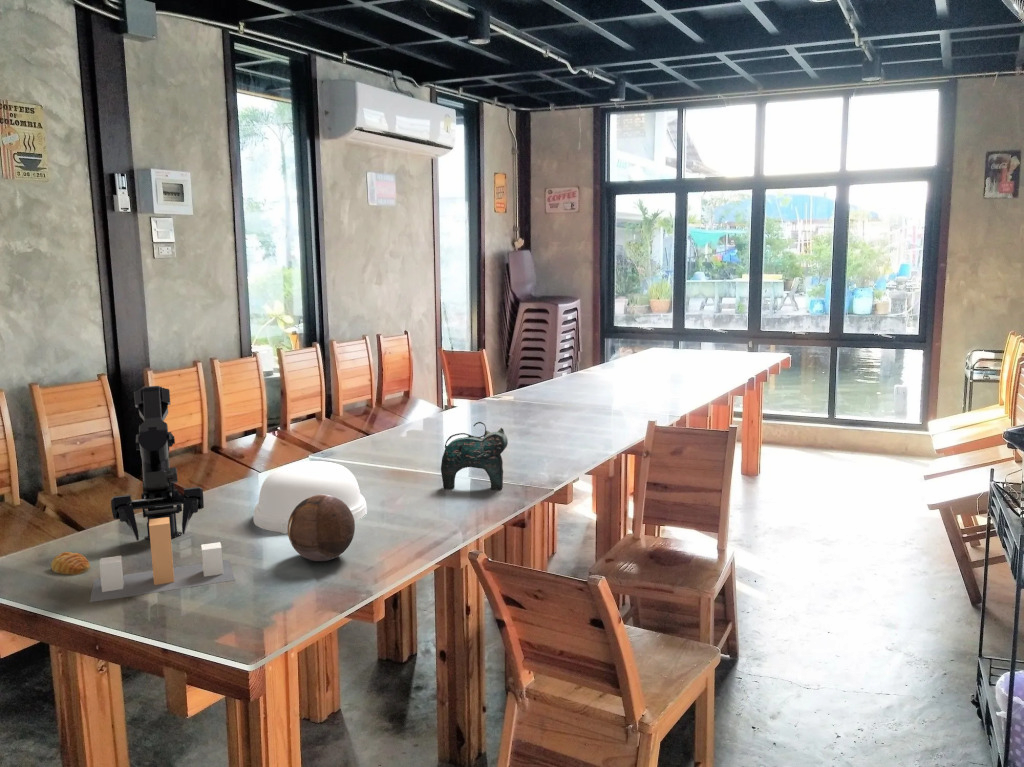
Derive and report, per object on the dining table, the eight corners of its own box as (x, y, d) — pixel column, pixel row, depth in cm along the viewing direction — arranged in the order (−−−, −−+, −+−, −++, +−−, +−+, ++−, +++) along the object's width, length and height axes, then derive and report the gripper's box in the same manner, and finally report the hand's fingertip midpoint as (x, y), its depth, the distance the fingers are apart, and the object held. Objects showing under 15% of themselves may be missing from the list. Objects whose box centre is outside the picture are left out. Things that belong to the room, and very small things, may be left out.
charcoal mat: (94, 581, 186) (94, 579, 186) (229, 561, 196) (229, 559, 196) (90, 604, 173) (89, 602, 173) (234, 582, 183) (234, 580, 183)
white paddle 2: (203, 570, 189) (201, 544, 188) (222, 567, 191) (220, 542, 190) (204, 576, 186) (202, 550, 185) (223, 573, 187) (221, 547, 186)
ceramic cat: (508, 485, 257) (507, 420, 254) (506, 491, 251) (505, 424, 248) (443, 485, 259) (441, 420, 256) (439, 490, 253) (437, 424, 250)
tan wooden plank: (154, 577, 186) (149, 519, 184) (173, 574, 188) (169, 517, 186) (154, 585, 181) (149, 525, 180) (174, 582, 183) (169, 523, 181)
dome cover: (338, 537, 213) (335, 482, 211) (229, 531, 219) (225, 478, 217) (384, 501, 244) (382, 453, 242) (287, 497, 250) (284, 450, 248)
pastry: (99, 571, 193) (97, 555, 192) (69, 581, 187) (67, 564, 186) (76, 563, 198) (75, 547, 197) (47, 572, 192) (45, 556, 192)
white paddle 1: (103, 585, 182) (100, 558, 181) (123, 582, 183) (121, 555, 182) (102, 591, 178) (99, 564, 177) (123, 588, 180) (120, 561, 179)
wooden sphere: (360, 547, 204) (357, 486, 202) (351, 569, 189) (347, 504, 187) (297, 549, 204) (293, 488, 202) (282, 572, 189) (278, 506, 187)
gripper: (107, 460, 184) (109, 523, 175) (199, 451, 191) (205, 512, 182) (112, 487, 192) (114, 549, 184) (200, 478, 199) (206, 537, 191)
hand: (160, 536), depth 185 cm, fingers open, 9 cm apart
